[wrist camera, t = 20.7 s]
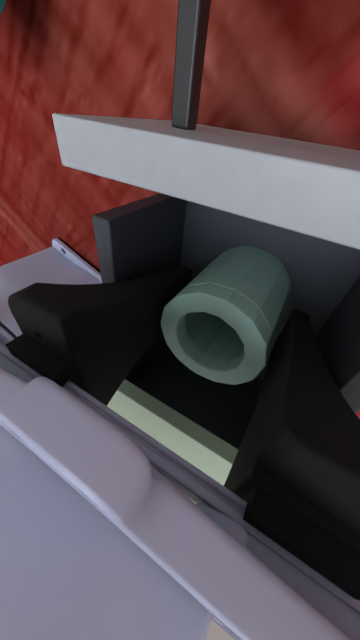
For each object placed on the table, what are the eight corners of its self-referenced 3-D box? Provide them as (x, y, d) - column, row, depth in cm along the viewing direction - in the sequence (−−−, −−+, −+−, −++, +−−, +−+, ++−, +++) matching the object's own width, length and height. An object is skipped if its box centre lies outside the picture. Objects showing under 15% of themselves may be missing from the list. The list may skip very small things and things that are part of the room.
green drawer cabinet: (164, 297, 19) (83, 368, 13) (323, 368, 15) (307, 513, 9) (157, 388, 29) (110, 452, 23) (253, 446, 25) (224, 540, 19)
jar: (253, 334, 14) (222, 397, 11) (195, 287, 14) (147, 335, 11) (313, 286, 11) (297, 356, 7) (236, 226, 11) (186, 267, 8)
